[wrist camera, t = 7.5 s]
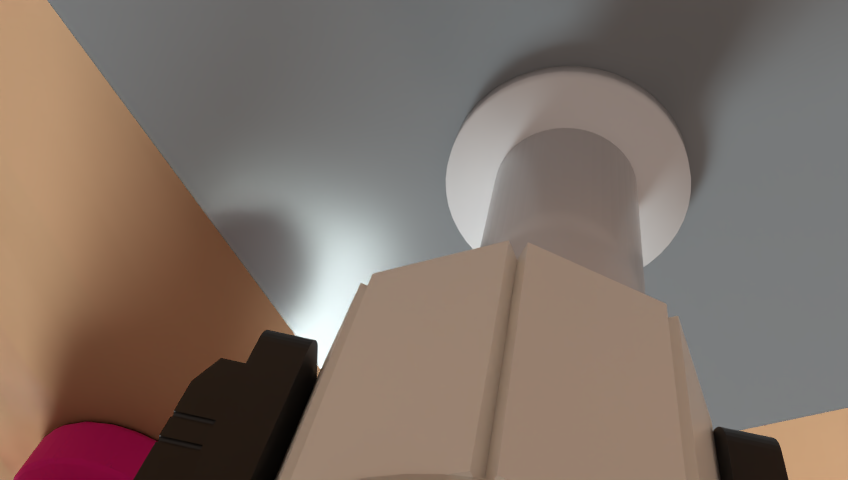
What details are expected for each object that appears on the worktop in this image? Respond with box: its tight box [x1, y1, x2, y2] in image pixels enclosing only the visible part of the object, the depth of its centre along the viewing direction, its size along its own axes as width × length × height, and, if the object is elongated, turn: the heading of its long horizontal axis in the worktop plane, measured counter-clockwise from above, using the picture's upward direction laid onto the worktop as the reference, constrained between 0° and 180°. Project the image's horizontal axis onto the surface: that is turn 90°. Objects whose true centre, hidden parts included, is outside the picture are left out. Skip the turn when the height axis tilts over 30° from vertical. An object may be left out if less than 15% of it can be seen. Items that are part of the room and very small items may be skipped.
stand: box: [48, 0, 848, 431], centre depth 13 cm, size 16×16×12 cm
